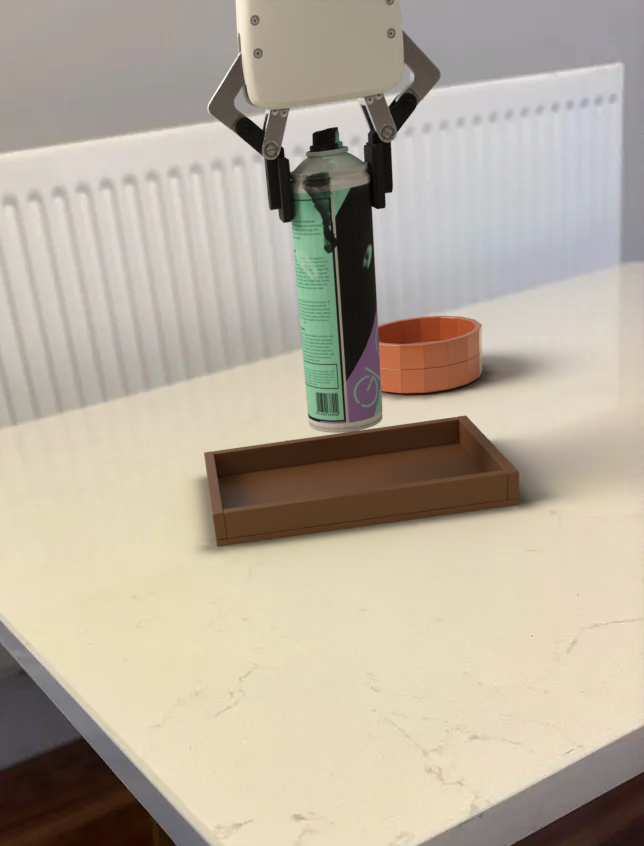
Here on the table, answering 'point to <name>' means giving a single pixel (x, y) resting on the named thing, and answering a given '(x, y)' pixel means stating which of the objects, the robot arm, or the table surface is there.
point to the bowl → (429, 353)
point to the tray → (356, 480)
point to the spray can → (336, 286)
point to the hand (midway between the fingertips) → (331, 210)
